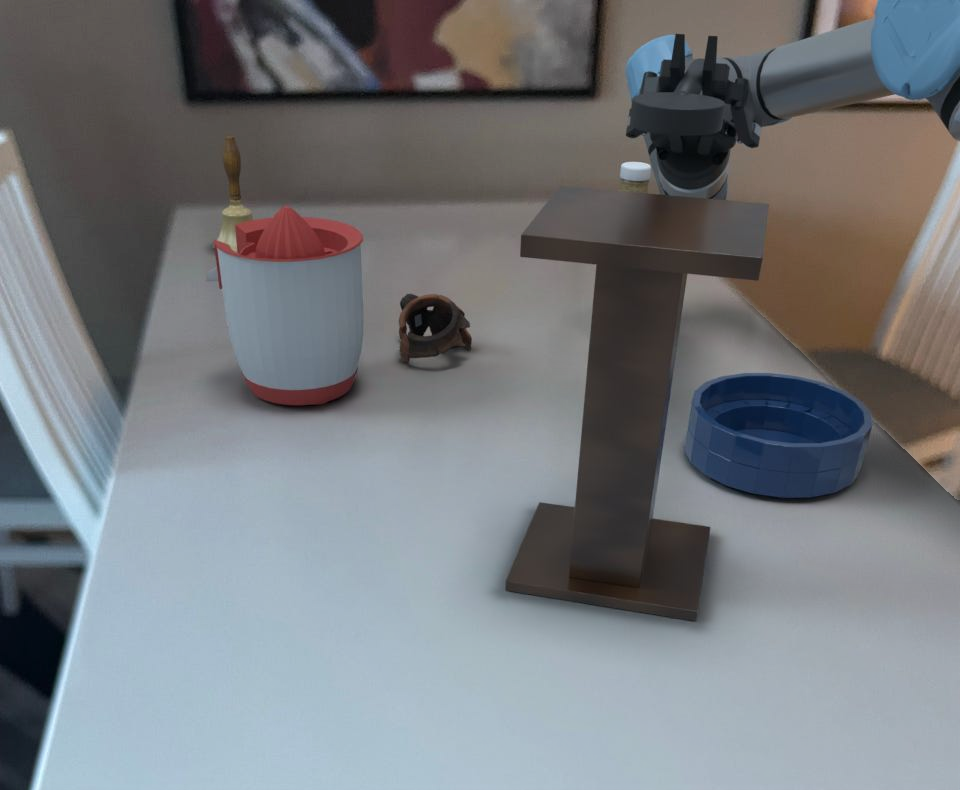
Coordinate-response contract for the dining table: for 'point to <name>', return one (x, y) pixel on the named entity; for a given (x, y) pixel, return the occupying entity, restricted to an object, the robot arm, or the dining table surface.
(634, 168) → the sprinkles bottle
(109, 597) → the dining table surface
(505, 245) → the dining table surface
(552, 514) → the wooden pedestal stand
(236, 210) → the hand bell
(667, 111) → the long-handled flat disc
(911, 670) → the dining table surface
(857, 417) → the bowl
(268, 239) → the citrus juicer
